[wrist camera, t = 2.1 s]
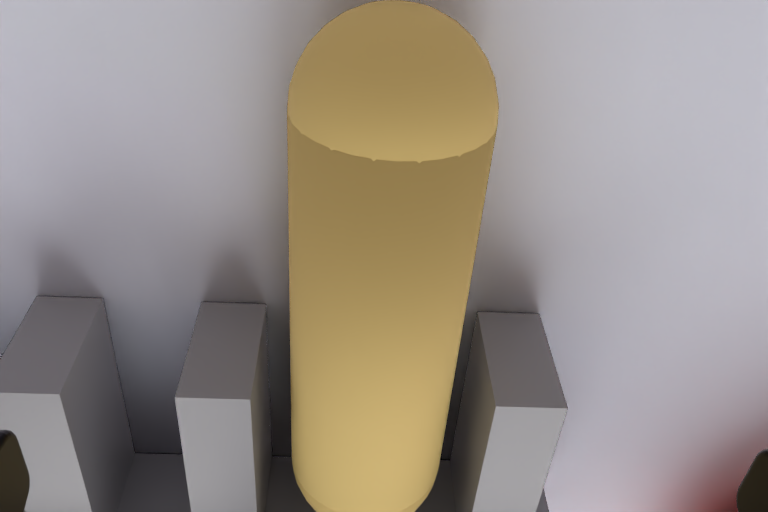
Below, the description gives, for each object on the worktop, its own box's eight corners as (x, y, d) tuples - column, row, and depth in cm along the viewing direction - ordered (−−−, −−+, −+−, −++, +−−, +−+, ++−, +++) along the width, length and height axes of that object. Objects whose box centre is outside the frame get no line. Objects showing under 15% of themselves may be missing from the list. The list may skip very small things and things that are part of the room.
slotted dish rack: (524, 505, 22) (558, 664, 18) (-355, 487, 20) (-514, 657, 17) (580, 315, 18) (639, 473, 14) (-534, 275, 16) (-802, 441, 12)
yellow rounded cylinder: (426, 443, 20) (437, 563, 18) (297, 440, 20) (286, 560, 17) (497, -21, 13) (536, 52, 10) (294, -33, 13) (274, 38, 10)
